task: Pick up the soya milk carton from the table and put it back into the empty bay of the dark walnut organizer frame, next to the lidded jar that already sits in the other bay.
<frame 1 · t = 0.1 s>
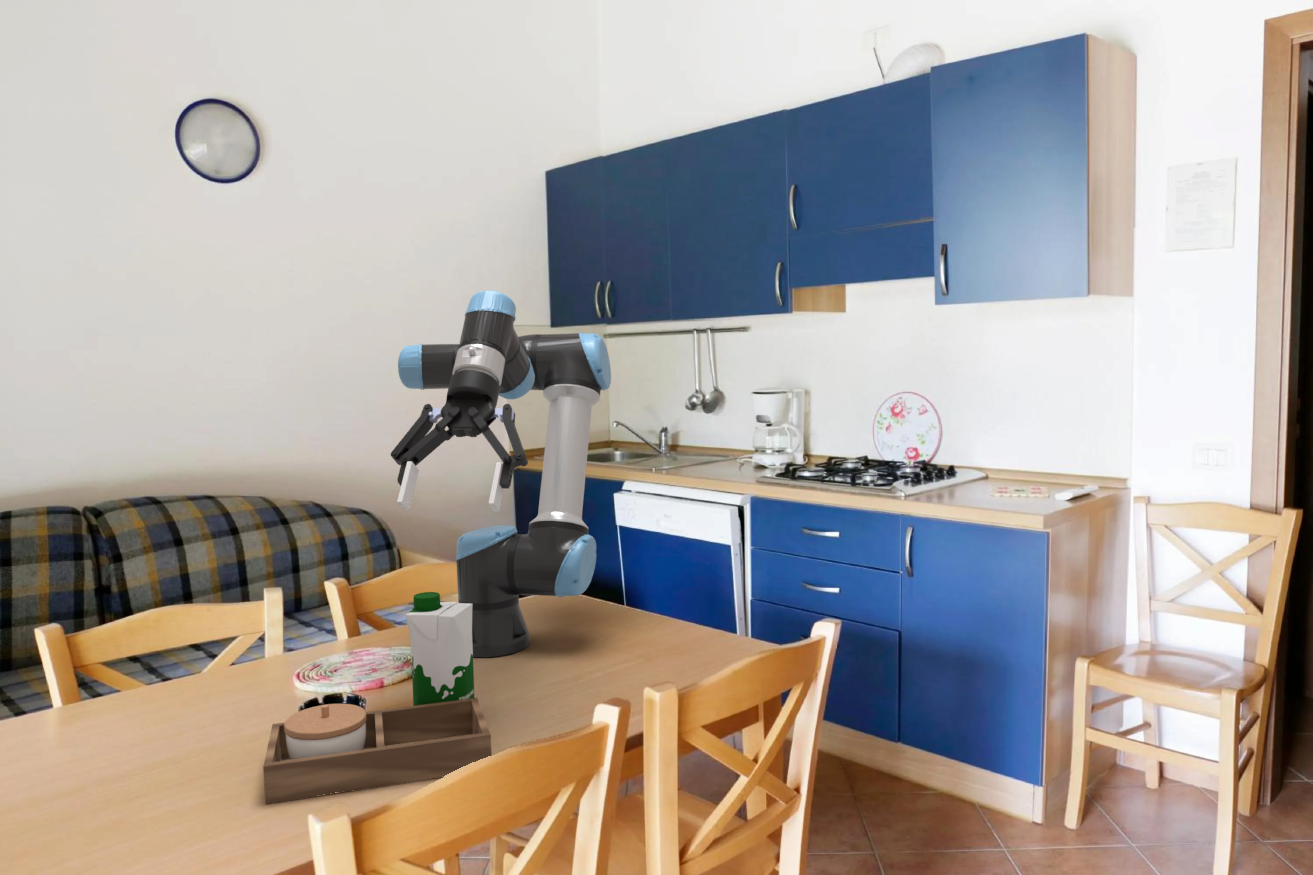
hand: (448, 507, 135), 36 cm above the table, tool tilted 35°, fingers open, 13 cm apart
organizer: (381, 763, 134), on the table
soya milk: (445, 721, 150), on the table
lidded jar: (328, 772, 132), resting in organizer
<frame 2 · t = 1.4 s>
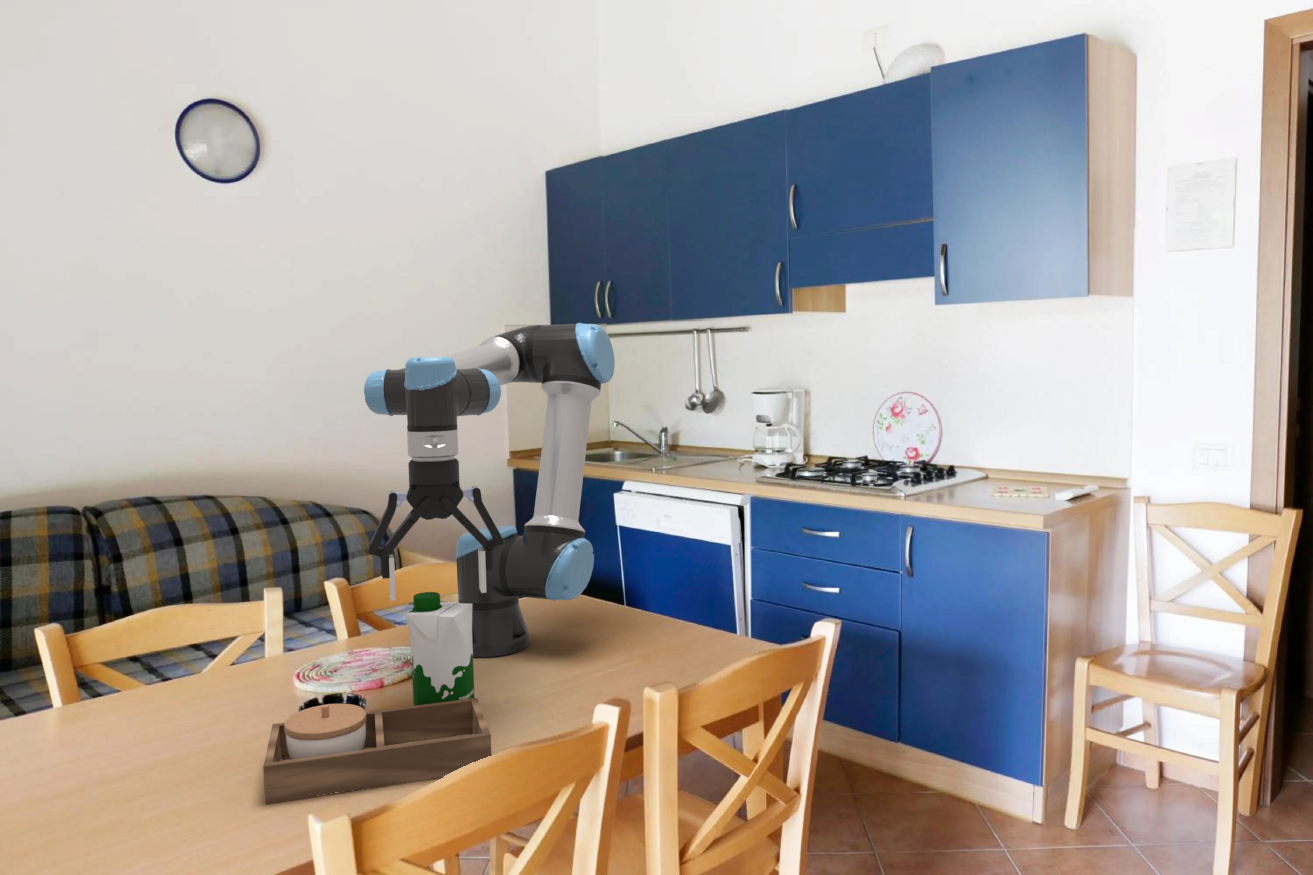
hand: (438, 595, 148), 20 cm above the table, tool pointing down, fingers open, 13 cm apart
nothing on the table moved.
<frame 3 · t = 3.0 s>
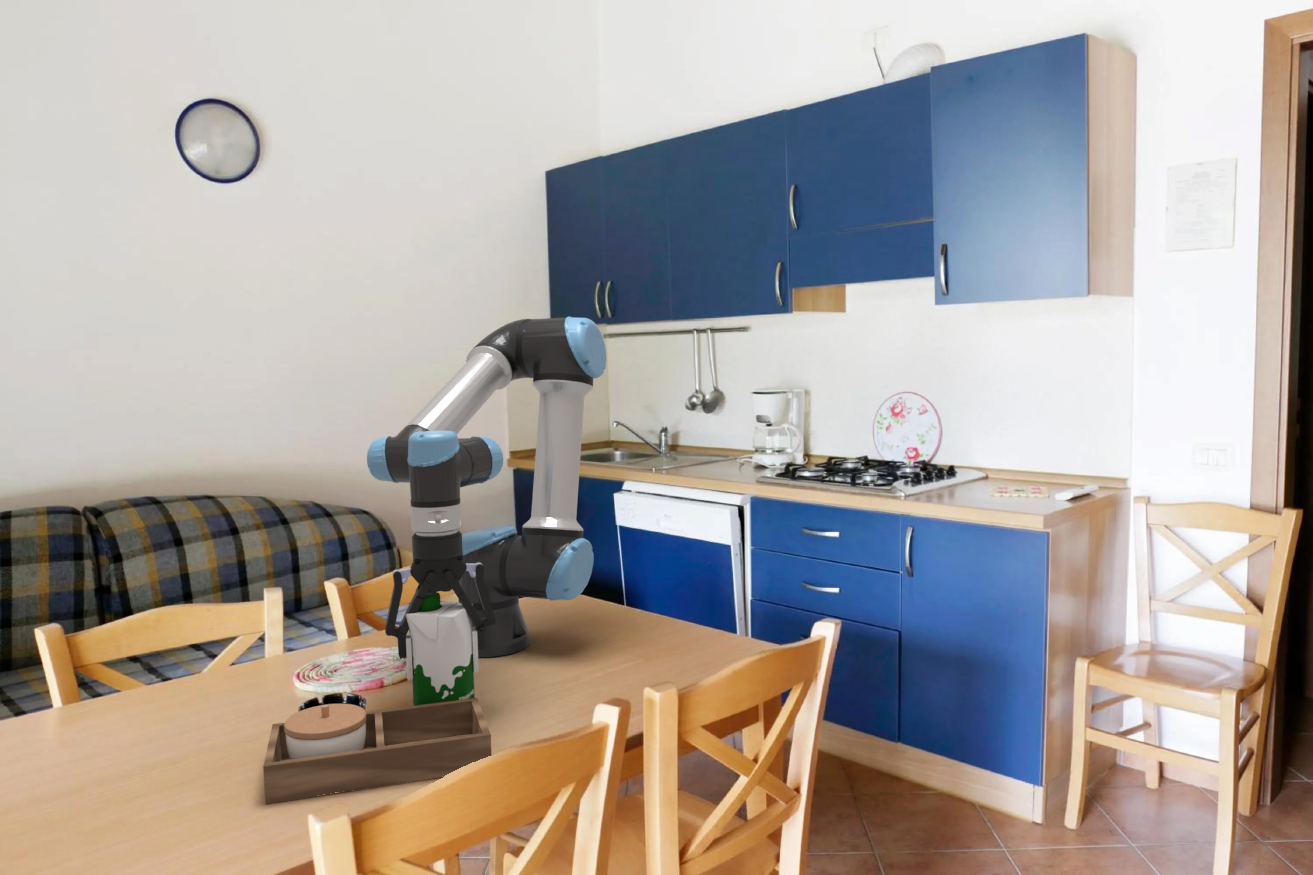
hand: (442, 673, 149), 8 cm above the table, tool pointing down, fingers closed on soya milk, 9 cm apart
soya milk: (445, 721, 150), on the table, touching gripper
everything else where it was.
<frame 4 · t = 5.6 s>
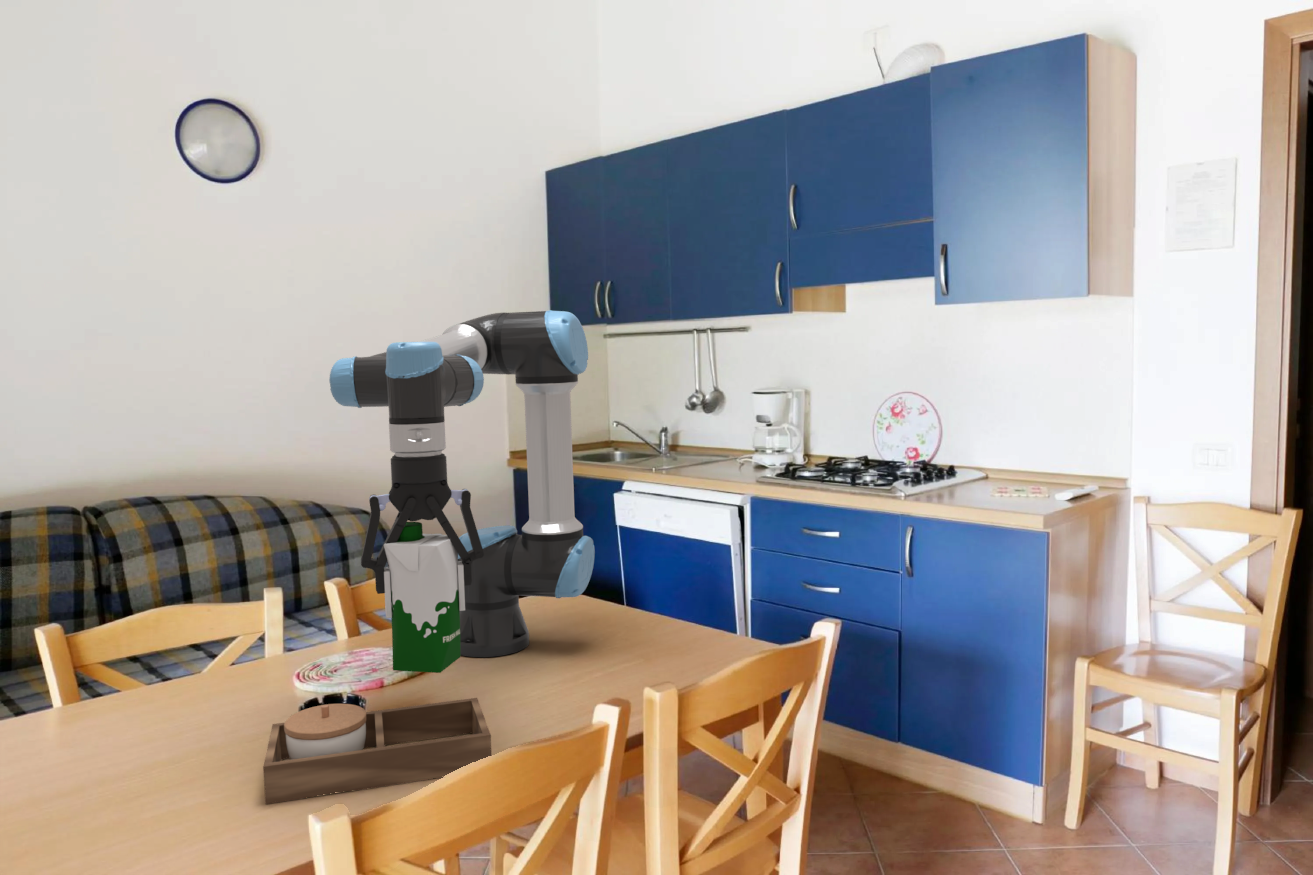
hand: (425, 611, 134), 21 cm above the table, tool pointing down, fingers closed on soya milk, 9 cm apart
soya milk: (427, 665, 135), point 13 cm above the table, touching gripper
everything else where it was.
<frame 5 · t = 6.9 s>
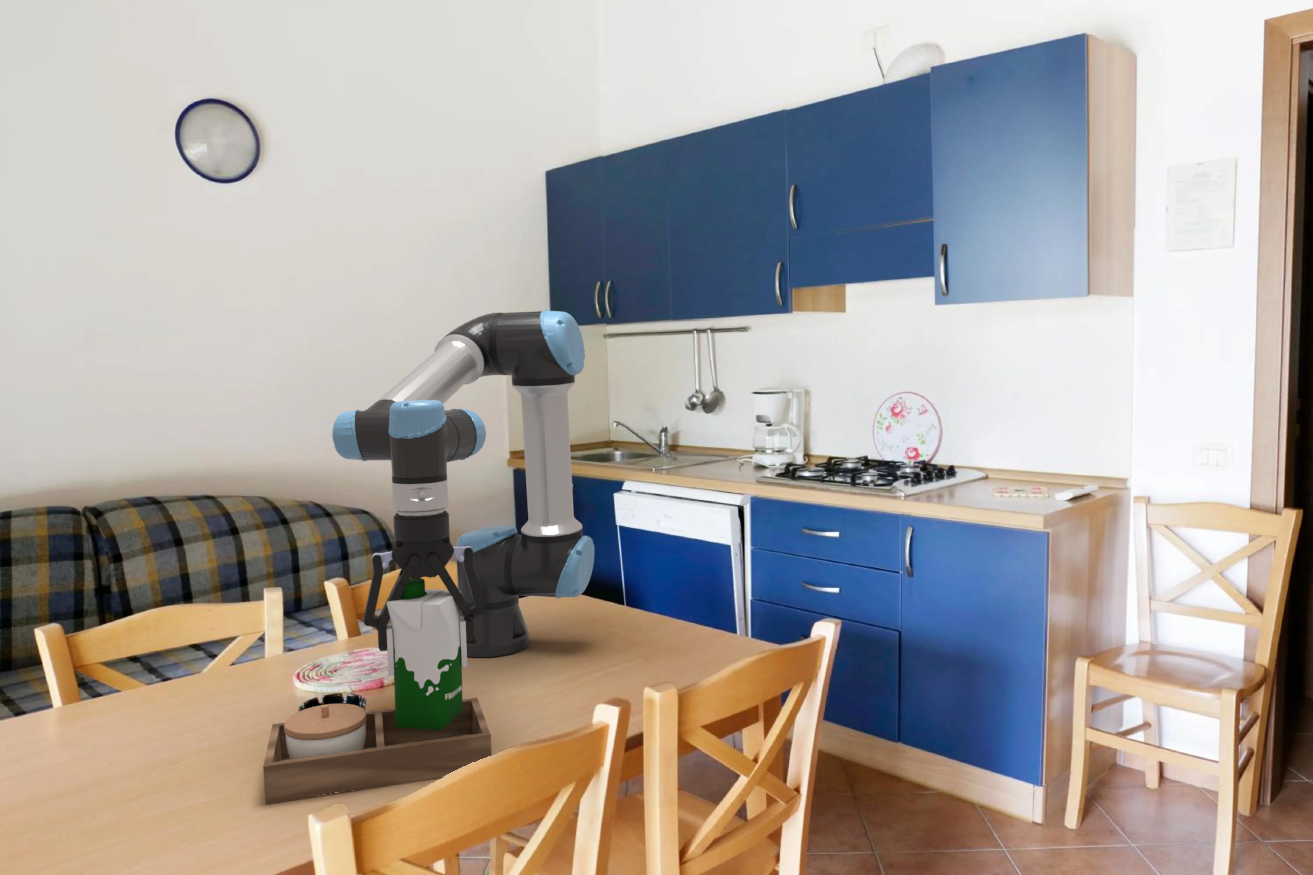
hand: (427, 667, 135), 13 cm above the table, tool pointing down, fingers closed on soya milk, 9 cm apart
soya milk: (430, 720, 136), point 5 cm above the table, touching gripper
everything else where it was.
when the fingers open (9 cm above the table, at t = 8.2 s): soya milk drops 1 cm, resting in organizer.
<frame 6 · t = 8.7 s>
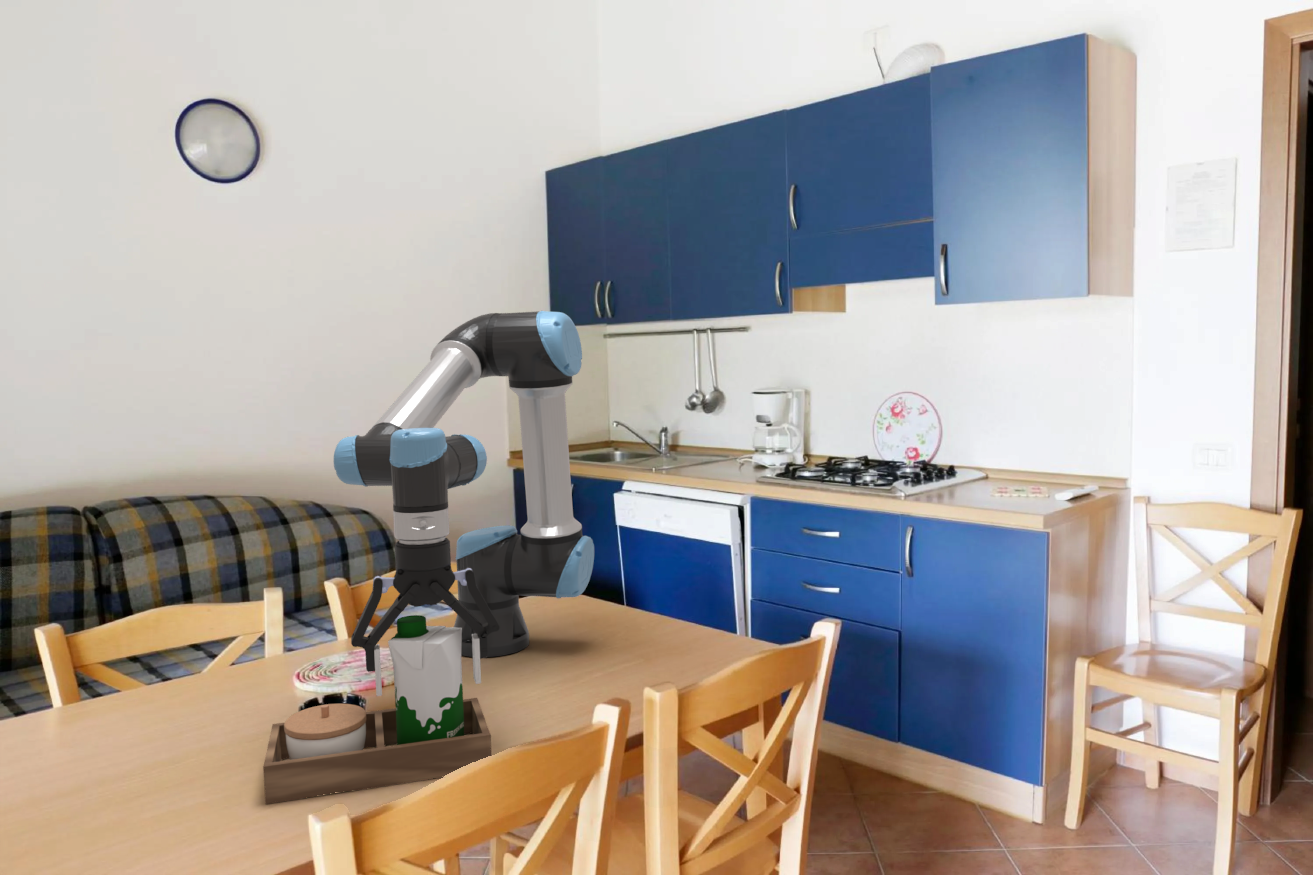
hand: (428, 686, 135), 10 cm above the table, tool pointing down, fingers open, 13 cm apart
soya milk: (432, 757, 136), resting in organizer
everything else where it was.
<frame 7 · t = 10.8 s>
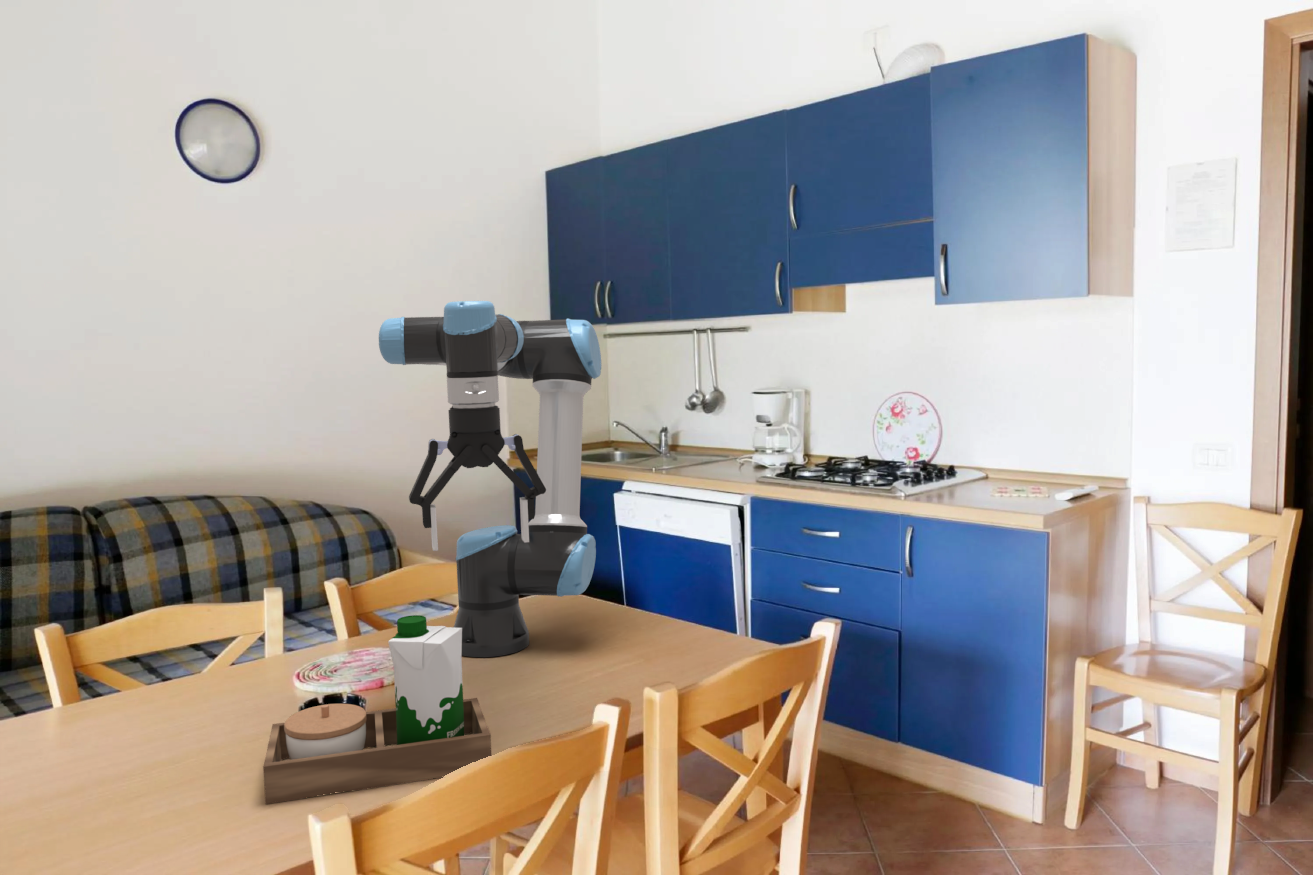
hand: (480, 544, 145), 28 cm above the table, tool pointing down, fingers open, 13 cm apart
nothing on the table moved.
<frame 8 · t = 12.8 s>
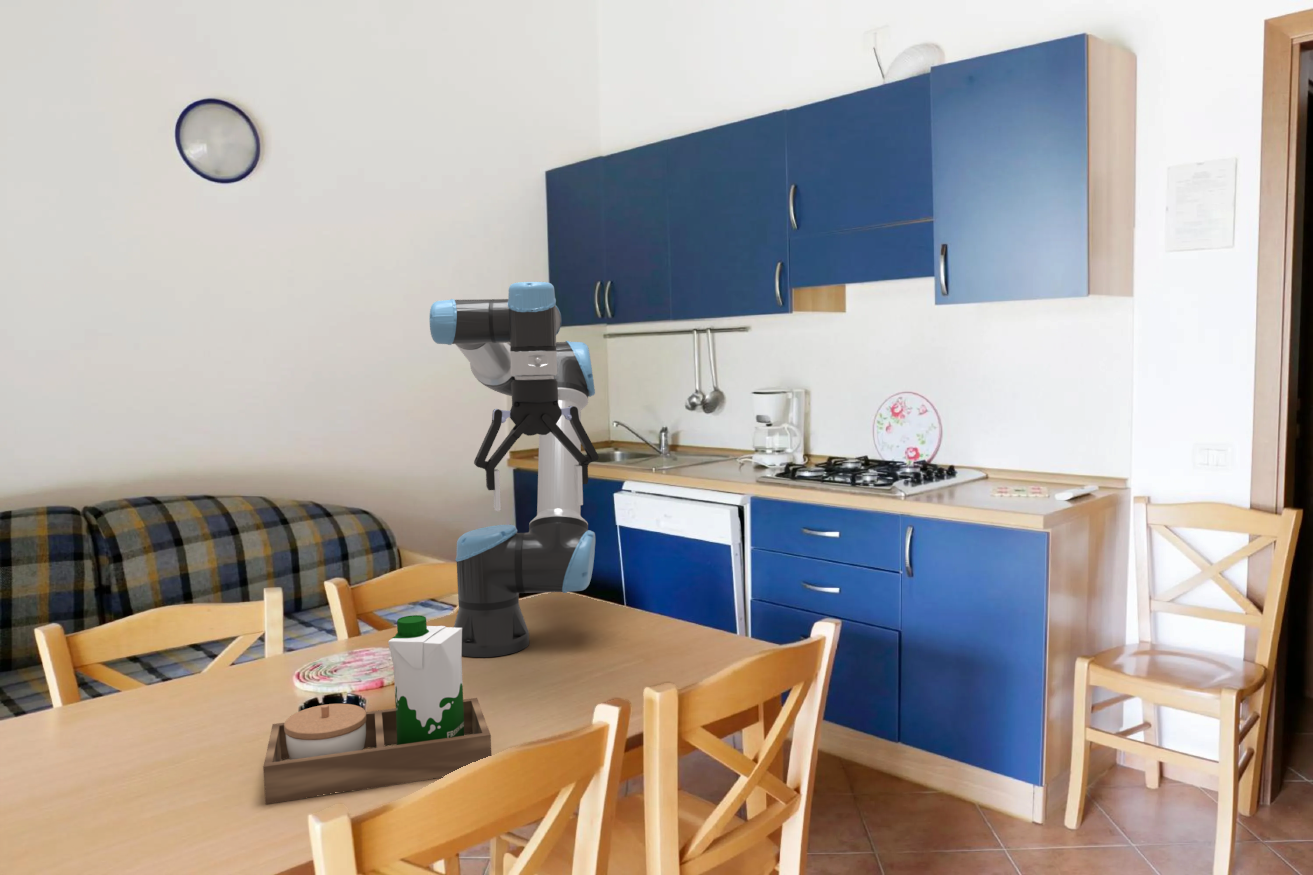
hand: (538, 507, 158), 32 cm above the table, tool pointing down, fingers open, 13 cm apart
nothing on the table moved.
at the end: soya milk inside the target area (0.0 cm from its centre), resting in organizer; soya milk tilted 0°; lidded jar moved 0.2 cm from its start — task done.
